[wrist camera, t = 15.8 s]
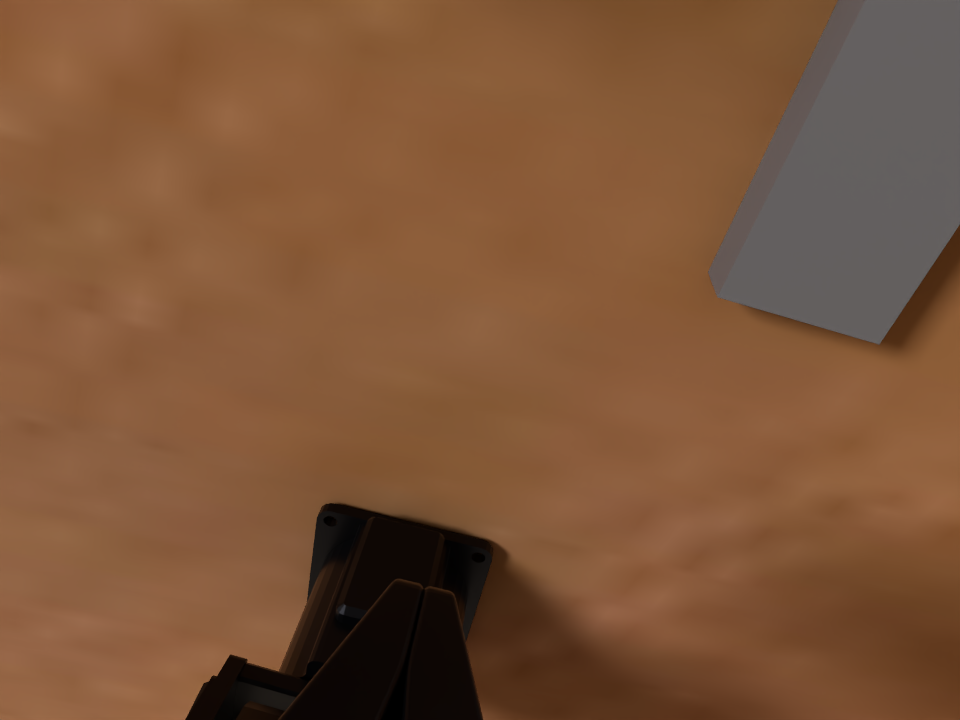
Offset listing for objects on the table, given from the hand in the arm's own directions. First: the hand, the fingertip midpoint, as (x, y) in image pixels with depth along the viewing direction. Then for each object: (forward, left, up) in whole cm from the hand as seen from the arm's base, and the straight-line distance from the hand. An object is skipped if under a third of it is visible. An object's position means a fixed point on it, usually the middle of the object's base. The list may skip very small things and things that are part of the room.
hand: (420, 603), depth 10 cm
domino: (+1, -8, -12) cm, 14 cm away
